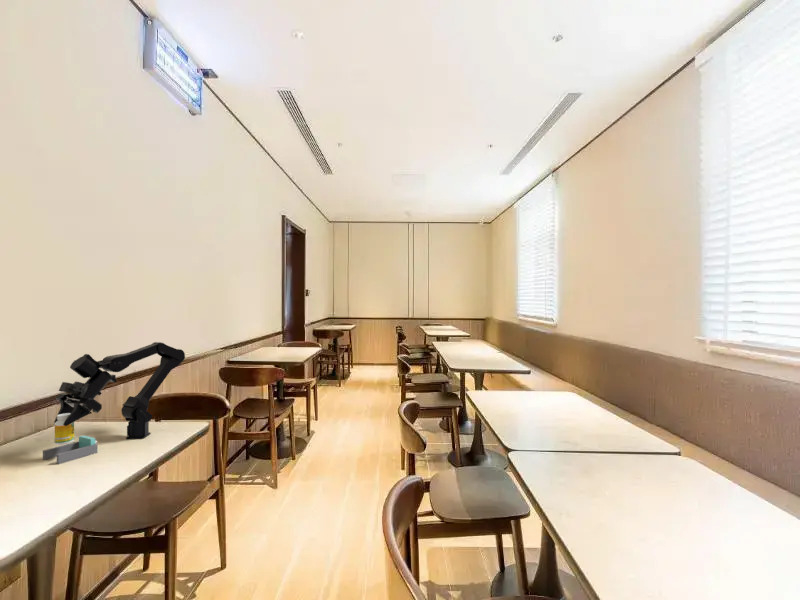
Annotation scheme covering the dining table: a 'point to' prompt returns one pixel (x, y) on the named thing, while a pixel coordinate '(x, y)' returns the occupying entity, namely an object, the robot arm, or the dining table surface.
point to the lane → (72, 450)
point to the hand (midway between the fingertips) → (59, 424)
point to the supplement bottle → (63, 430)
